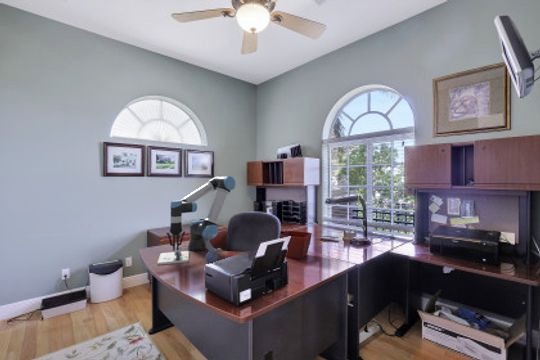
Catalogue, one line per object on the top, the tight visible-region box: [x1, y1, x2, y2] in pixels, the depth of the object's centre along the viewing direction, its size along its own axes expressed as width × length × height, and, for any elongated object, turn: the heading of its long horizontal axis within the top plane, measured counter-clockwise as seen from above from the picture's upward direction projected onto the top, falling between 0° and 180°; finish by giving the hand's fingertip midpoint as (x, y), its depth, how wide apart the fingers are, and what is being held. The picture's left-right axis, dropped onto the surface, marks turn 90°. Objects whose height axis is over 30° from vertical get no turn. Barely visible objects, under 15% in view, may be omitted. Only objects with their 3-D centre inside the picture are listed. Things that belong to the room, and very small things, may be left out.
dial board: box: [156, 250, 190, 266], centre depth 185 cm, size 20×22×2 cm
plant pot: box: [279, 230, 313, 260], centre depth 193 cm, size 19×19×17 cm
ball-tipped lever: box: [176, 246, 182, 260], centre depth 184 cm, size 19×4×4 cm, turn 18°
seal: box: [204, 233, 223, 264], centre depth 175 cm, size 8×12×20 cm
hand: (175, 254), depth 182 cm, fingers closed
